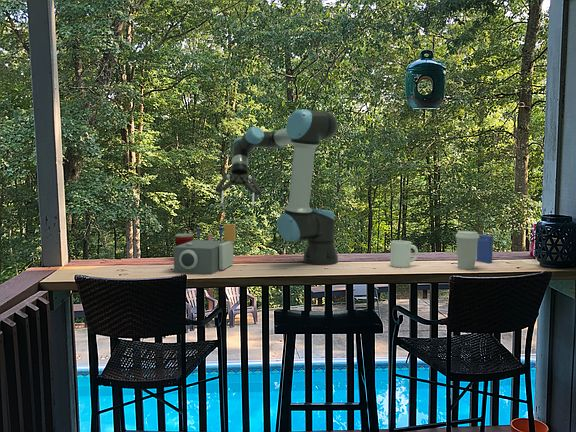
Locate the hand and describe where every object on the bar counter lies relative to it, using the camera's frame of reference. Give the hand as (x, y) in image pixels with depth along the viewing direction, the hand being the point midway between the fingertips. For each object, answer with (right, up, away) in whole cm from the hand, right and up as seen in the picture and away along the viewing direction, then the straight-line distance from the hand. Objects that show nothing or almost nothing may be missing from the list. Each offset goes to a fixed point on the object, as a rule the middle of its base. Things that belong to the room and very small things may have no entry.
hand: (237, 205), depth 247 cm
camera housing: (-13, -26, -18) cm, 34 cm away
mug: (+72, -26, -10) cm, 77 cm away
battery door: (-3, -25, -16) cm, 30 cm away
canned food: (-24, -24, +4) cm, 34 cm away
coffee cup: (+96, -26, -14) cm, 101 cm away
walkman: (+108, -25, 0) cm, 111 cm away
